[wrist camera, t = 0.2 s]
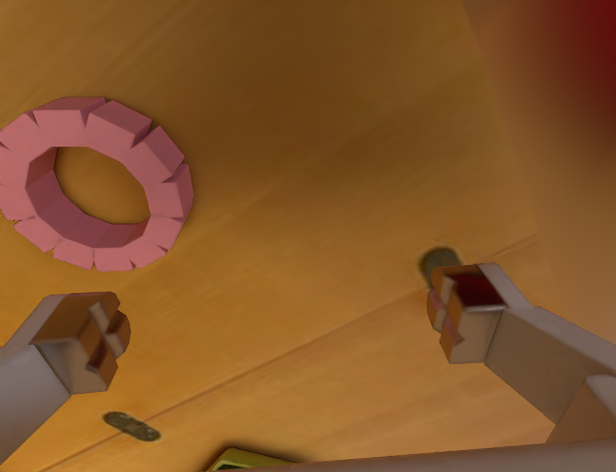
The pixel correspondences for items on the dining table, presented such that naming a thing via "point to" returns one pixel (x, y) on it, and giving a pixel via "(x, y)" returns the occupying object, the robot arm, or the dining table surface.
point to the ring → (63, 212)
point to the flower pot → (244, 460)
